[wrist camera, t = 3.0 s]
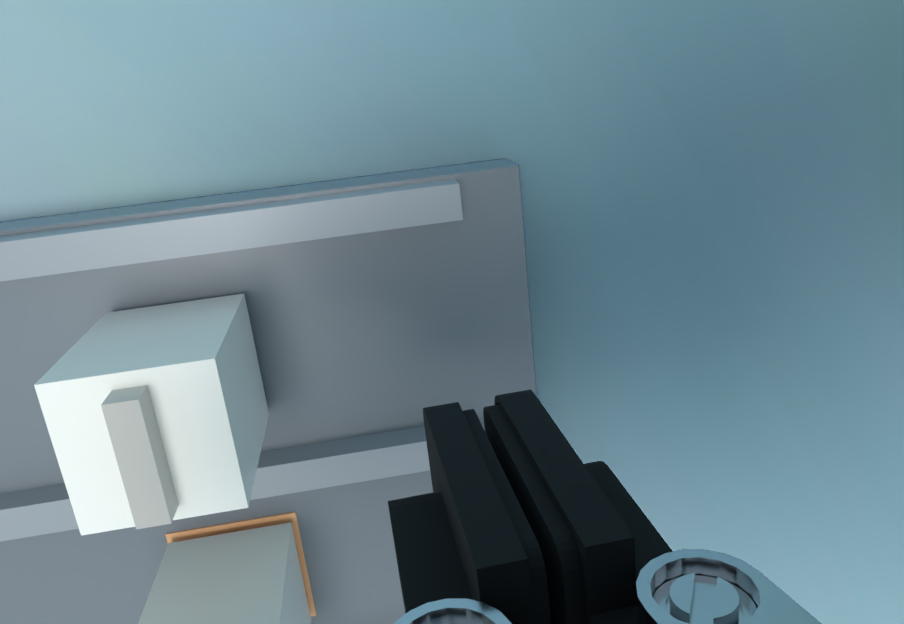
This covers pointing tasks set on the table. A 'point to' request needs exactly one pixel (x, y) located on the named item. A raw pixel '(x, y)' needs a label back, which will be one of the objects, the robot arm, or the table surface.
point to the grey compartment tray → (271, 368)
